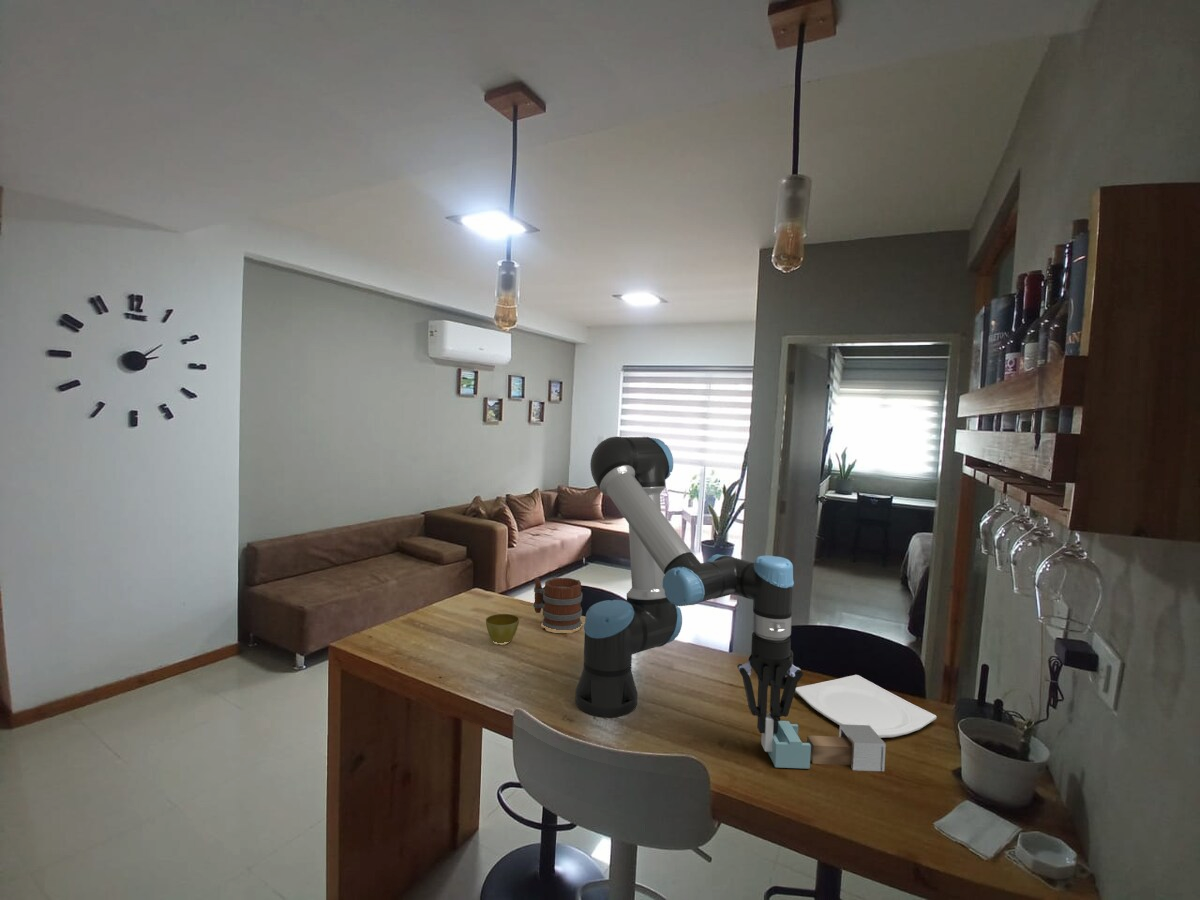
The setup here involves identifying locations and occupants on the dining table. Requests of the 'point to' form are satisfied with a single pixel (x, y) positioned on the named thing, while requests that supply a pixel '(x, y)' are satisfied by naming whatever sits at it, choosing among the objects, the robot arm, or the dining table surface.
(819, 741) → the batten
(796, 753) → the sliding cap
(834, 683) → the plate
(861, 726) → the end cap
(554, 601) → the mug
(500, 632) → the flower pot
